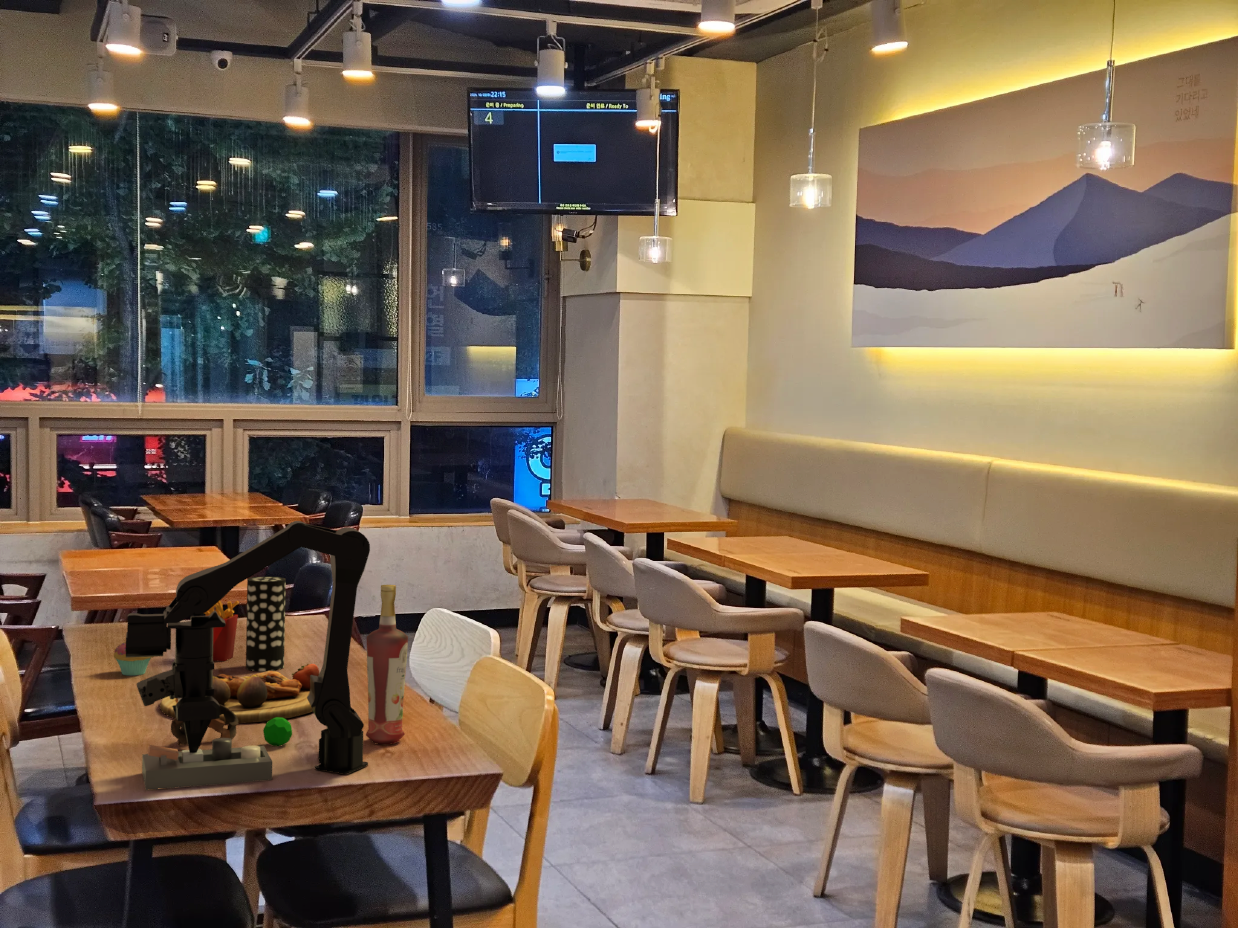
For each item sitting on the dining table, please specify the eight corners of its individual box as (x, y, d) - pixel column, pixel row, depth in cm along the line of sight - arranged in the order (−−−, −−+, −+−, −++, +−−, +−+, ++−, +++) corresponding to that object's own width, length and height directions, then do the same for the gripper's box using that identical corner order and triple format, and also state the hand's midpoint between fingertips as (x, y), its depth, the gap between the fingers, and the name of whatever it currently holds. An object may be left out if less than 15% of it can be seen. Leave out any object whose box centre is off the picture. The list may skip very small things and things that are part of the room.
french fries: (238, 656, 308) (239, 592, 308) (224, 663, 300) (225, 597, 300) (202, 654, 309) (203, 591, 309) (187, 661, 301) (188, 596, 300)
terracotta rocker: (175, 755, 211) (177, 749, 211) (177, 759, 208) (178, 753, 208) (147, 750, 209) (149, 744, 209) (148, 755, 206) (150, 748, 206)
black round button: (230, 755, 214) (230, 737, 214) (232, 760, 211) (232, 741, 211) (211, 756, 213) (211, 738, 213) (212, 761, 210) (213, 742, 210)
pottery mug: (201, 736, 238) (224, 698, 237) (229, 768, 233) (253, 729, 232) (149, 732, 228) (173, 692, 227) (177, 765, 223) (202, 725, 222)
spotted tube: (249, 663, 300) (250, 576, 300) (286, 664, 301) (288, 576, 301) (242, 671, 292) (244, 581, 291) (281, 671, 293) (282, 581, 292)
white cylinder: (258, 763, 216) (258, 744, 216) (261, 767, 213) (261, 749, 213) (239, 764, 215) (240, 746, 215) (241, 769, 212) (242, 750, 212)
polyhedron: (297, 745, 232) (298, 718, 232) (273, 750, 228) (274, 723, 228) (281, 739, 235) (281, 713, 235) (257, 744, 231) (257, 717, 231)
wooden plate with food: (321, 686, 281) (321, 647, 281) (336, 719, 251) (336, 676, 250) (162, 695, 271) (162, 655, 271) (157, 731, 241) (157, 686, 241)
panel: (263, 763, 220) (263, 737, 219) (272, 779, 210) (272, 752, 210) (142, 772, 212) (142, 745, 212) (145, 790, 203) (146, 761, 203)
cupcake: (105, 673, 286) (105, 618, 285) (139, 667, 293) (139, 614, 292) (129, 679, 281) (130, 623, 280) (163, 673, 288) (164, 618, 287)
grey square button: (201, 767, 212) (201, 748, 212) (202, 772, 210) (203, 753, 210) (181, 768, 211) (181, 750, 211) (183, 773, 208) (183, 755, 208)
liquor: (398, 747, 232) (401, 589, 231) (358, 745, 233) (361, 587, 232) (411, 737, 239) (414, 584, 238) (372, 734, 240) (375, 581, 239)
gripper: (137, 646, 215) (136, 741, 216) (143, 669, 198) (142, 772, 199) (208, 643, 219) (207, 736, 220) (220, 665, 202) (219, 766, 203)
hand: (193, 752), depth 210 cm, fingers closed, pressing on grey square button
